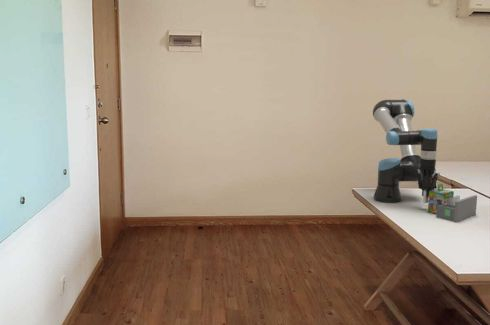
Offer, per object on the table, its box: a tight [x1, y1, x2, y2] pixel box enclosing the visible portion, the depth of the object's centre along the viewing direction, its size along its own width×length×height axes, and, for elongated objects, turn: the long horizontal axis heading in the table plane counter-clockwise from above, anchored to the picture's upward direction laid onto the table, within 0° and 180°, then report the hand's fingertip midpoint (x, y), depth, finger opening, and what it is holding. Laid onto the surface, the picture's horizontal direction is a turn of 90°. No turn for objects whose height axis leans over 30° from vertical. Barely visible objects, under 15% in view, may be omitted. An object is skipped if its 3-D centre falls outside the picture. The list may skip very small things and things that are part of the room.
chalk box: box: [427, 183, 455, 214], centre depth 236 cm, size 9×9×15 cm
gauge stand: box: [435, 194, 478, 223], centre depth 230 cm, size 11×20×10 cm, turn 128°
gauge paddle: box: [442, 195, 461, 208], centre depth 231 cm, size 1×16×8 cm, turn 128°
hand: (425, 202), depth 243 cm, fingers closed
